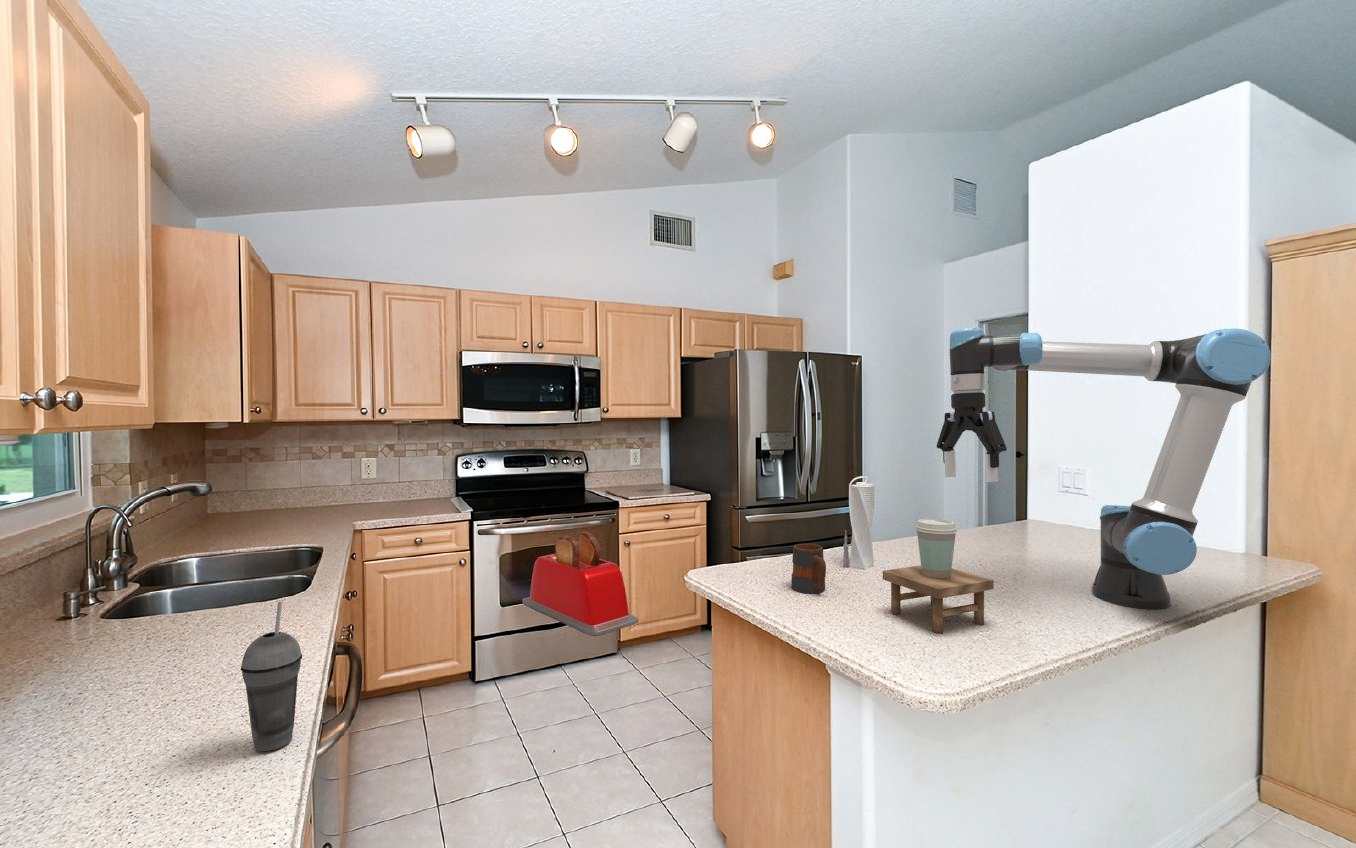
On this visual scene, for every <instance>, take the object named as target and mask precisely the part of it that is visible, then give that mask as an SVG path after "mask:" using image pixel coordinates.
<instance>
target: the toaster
mask: <svg viewBox="0 0 1356 848" xmlns="http://www.w3.org/2000/svg"><path fill="white" fill-rule="evenodd" d="M554 548H555V549H554V550H555V553H553V554H552V553H551V554H547V555H542V556H539V557H537V559H536V560H535V562H534V565H533V570H532V575H531V583H530V593H529V594H530V595H529V596H528V597H524V598H522V604H523V605H524V606H526V607H527V608H529V609H532V610H534V611H535V612H538V613H540V614H542V615H543V616H544V615H545V616H546V617H549V618H551V619H553V620H555V621H558V622H560V623H562V624H564V625H566V626H568V627H571V628H573V629H574V630H576V631H579V632H581V633H583V634H585V635H588V636H591V637H600V636H602V635H606V634H609V633H612V632H615V631H617V630H621V629H624V628H628V627H630V626H634V625H637V624H638V623H639V618H638V617H637V616H635V615H633V614H631V613H630V612H629V605H628V597H627V592H626V586H625V581H624V577H623V573H622V571H621V569H620V567H619V565H618V564H617V563H615V562H612V561H608V560H606V559H602V558H601V555H602V554H601V552H602V551H601V546H600V544H599V542H598V540H597V538H596V537H595V536H594V535H593V534H592V533H591V532H590V531H581V532H579V534H577V537H576V538H575V537H573V536H570V535H569V534H568V535H562V536H561V535H560V536H559V537H558V538H557V539H556V540H555V544H554Z"/></svg>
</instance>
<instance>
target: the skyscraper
mask: <svg viewBox="0 0 1356 848" xmlns="http://www.w3.org/2000/svg"><path fill="white" fill-rule="evenodd" d="M858 479H865V480H864V481H860V482H859V481H858V482H856V483H855V484H853V482H854V481H856V480H858ZM868 480H869V477H868V476H866V475H865V476H864V475H861V476H856V477H855V478H853V479H852V480H851V481H850V483H849V484H848V508H849V517H850V525H851V529H852V531H851V532H852V534H851V543H850V557H849V544H848V535H847V530H846V529H845V530H844V531H845V532H844V533H845V535H844V544H843V545H842V547H843V559H842V564H843V568H845V569H847V568H849V567H851V568H855V569H856V568H857V569H860V570H864V571H867V570H868V569H869V568H872V567H874V566H875V565H874V549H873V548H874V547H873V537H872V530H871V529H872V524H873V521H874V511H875V484H873V483H867V482H868ZM849 563H850V565H849Z"/></svg>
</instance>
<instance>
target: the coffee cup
mask: <svg viewBox="0 0 1356 848" xmlns="http://www.w3.org/2000/svg"><path fill="white" fill-rule="evenodd" d="M957 529H958V528H957V527H956V523H955V522H954V521H952V520H948V519H942V518H921V519H918V520H917V524H916V525H915V530H916V534H917V543H918V551H919V558H920V565H921V568H922V574H923V575H924V576H926V577H930V578H937V579H945V578H950V577H951V569H952V567H953V559H954V551H955V543H956V533H958V530H957Z"/></svg>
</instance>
